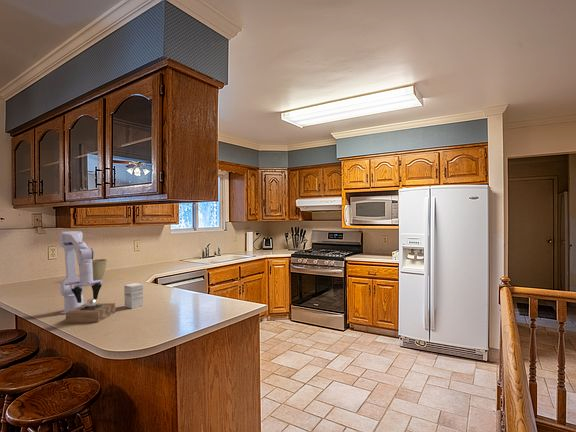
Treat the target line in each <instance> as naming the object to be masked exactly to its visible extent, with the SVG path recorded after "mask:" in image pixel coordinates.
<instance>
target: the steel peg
mask: <svg viewBox="0 0 576 432" xmlns="http://www.w3.org/2000/svg"><path fill="white" fill-rule="evenodd" d="M96 303H97V299H93V298H90V299H87V300H86V304H87V308H94V307H96Z"/></svg>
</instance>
